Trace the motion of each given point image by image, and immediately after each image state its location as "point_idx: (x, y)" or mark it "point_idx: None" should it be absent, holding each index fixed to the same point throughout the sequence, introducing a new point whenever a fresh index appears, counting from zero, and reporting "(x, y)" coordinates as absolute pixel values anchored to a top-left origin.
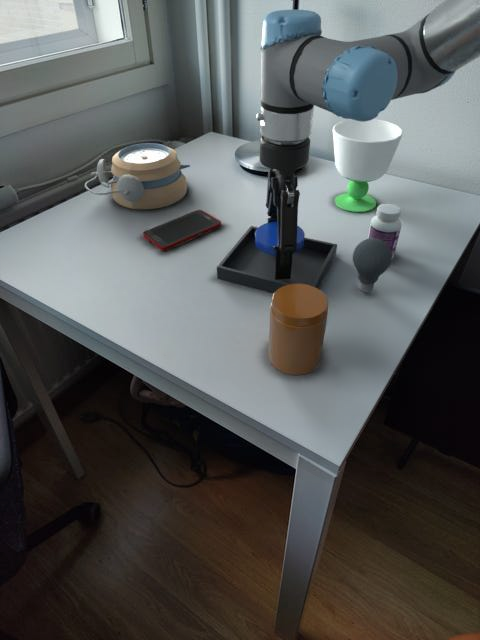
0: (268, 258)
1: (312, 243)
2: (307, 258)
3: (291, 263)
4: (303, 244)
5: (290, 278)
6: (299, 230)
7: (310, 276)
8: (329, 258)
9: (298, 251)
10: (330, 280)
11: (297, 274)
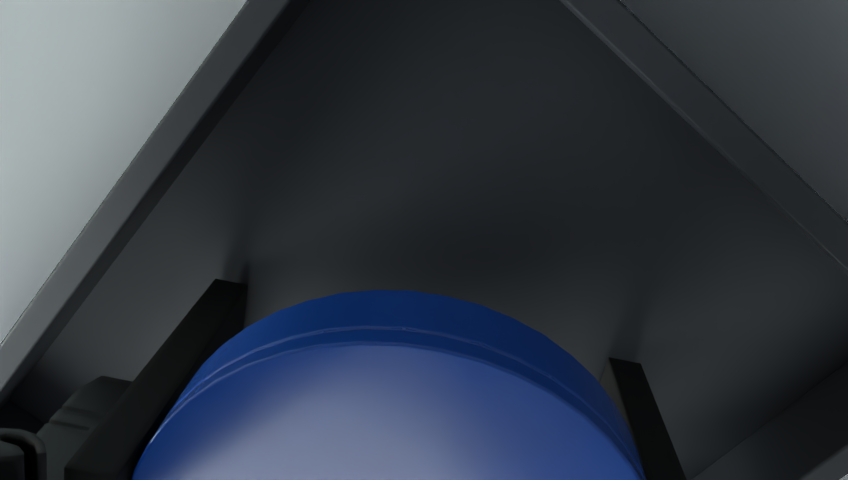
0: None
1: (272, 37)
2: (411, 124)
3: (677, 457)
4: (549, 345)
5: (641, 366)
6: (386, 382)
7: (659, 204)
8: (630, 15)
9: (286, 154)
10: (740, 44)
11: (595, 288)
